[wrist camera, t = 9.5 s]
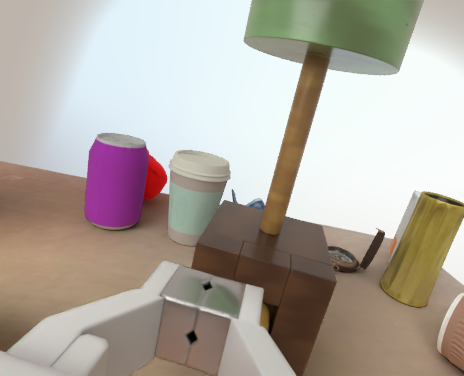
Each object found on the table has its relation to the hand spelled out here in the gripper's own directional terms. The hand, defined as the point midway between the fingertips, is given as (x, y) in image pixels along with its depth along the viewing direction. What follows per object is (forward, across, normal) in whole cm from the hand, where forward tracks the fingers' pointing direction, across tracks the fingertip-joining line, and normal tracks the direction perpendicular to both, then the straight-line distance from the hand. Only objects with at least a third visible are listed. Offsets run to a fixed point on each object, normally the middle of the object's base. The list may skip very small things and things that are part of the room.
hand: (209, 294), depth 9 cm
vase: (+34, -23, +16) cm, 44 cm away
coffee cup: (+33, +9, +16) cm, 38 cm away
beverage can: (+32, +20, +16) cm, 40 cm away
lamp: (+17, -2, +16) cm, 23 cm away
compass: (+37, -15, +16) cm, 43 cm away
